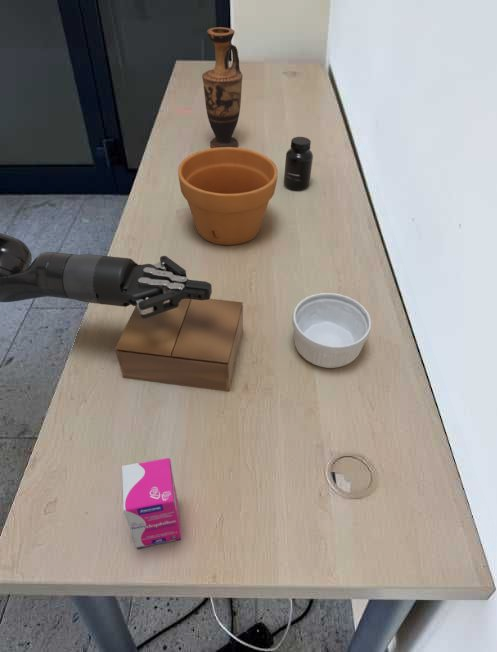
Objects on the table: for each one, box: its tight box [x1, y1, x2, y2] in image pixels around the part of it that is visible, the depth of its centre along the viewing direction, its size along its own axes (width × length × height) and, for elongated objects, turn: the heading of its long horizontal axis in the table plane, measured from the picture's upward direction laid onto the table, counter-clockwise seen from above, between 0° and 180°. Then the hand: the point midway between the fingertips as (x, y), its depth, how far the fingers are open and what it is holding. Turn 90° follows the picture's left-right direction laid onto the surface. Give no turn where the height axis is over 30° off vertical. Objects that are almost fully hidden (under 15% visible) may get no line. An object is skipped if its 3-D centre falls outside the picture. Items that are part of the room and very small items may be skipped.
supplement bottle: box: [283, 136, 314, 192], centre depth 123 cm, size 7×7×12 cm
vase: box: [201, 26, 243, 149], centre depth 134 cm, size 11×11×30 cm
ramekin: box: [291, 292, 372, 369], centre depth 84 cm, size 13×13×7 cm
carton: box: [115, 298, 244, 392], centre depth 82 cm, size 14×18×7 cm
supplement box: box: [121, 457, 182, 549], centre depth 59 cm, size 6×6×12 cm
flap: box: [115, 299, 191, 356], centre depth 80 cm, size 14×9×1 cm, turn 171°
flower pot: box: [177, 147, 279, 246], centre depth 108 cm, size 21×21×15 cm
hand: (210, 291), depth 74 cm, fingers closed
